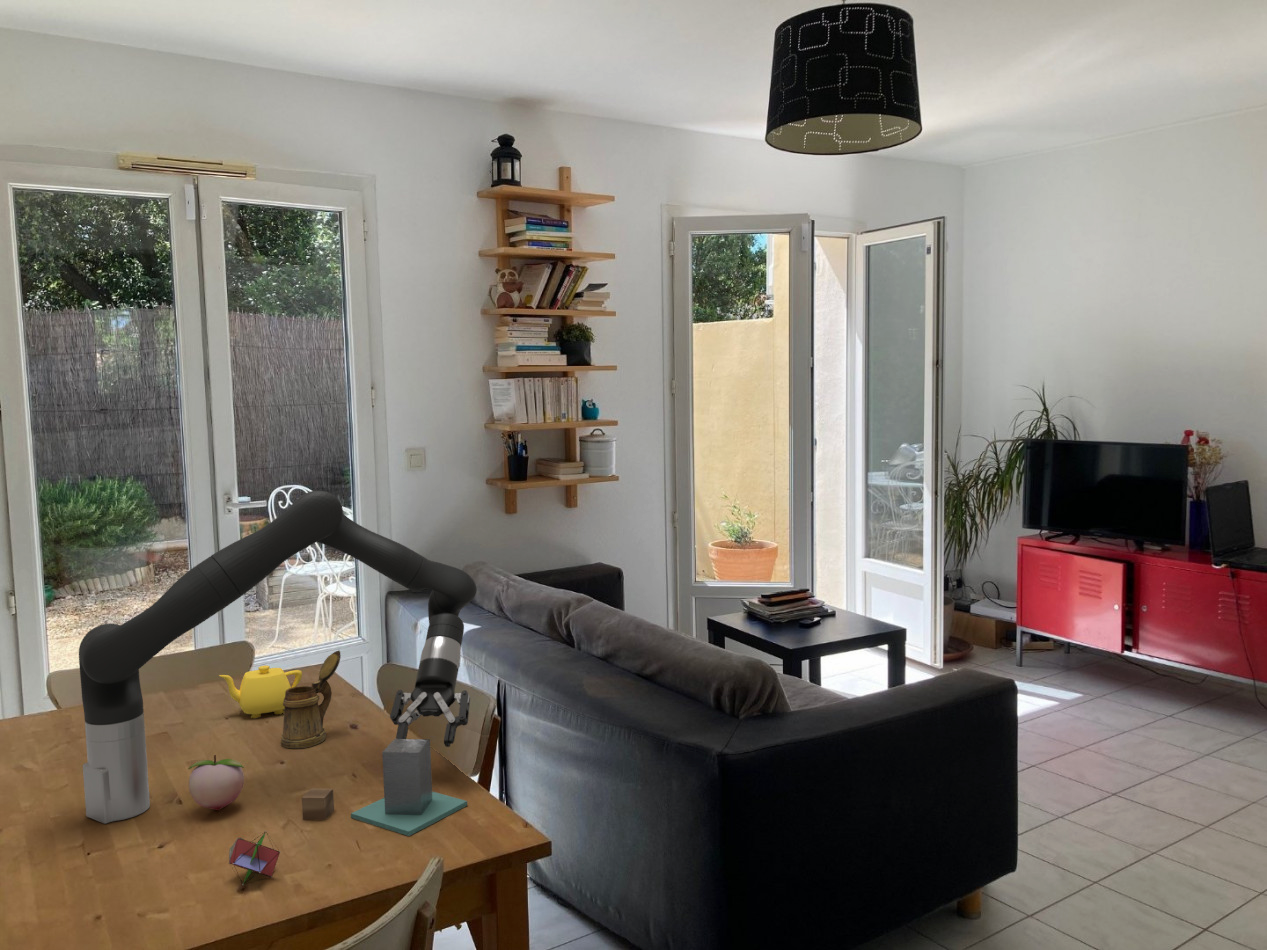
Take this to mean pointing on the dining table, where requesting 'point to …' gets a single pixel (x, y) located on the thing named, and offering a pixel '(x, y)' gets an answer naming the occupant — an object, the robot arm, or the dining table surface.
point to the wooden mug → (308, 709)
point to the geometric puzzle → (253, 857)
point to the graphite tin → (407, 776)
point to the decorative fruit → (216, 782)
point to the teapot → (262, 690)
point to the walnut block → (317, 804)
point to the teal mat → (409, 823)
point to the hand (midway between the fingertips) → (424, 744)
